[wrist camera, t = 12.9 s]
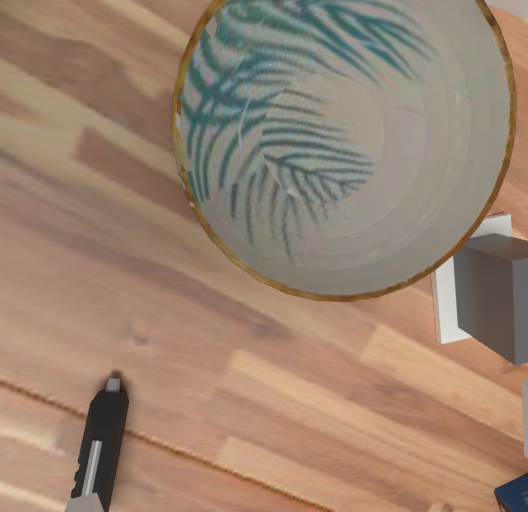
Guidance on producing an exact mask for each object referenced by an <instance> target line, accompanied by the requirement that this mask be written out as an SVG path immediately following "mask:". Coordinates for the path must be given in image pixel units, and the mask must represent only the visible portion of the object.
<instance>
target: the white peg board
mask: <svg viewBox="0 0 528 512" xmlns="http://www.w3.org/2000/svg"><path fill="white" fill-rule="evenodd" d="M492 233H497V234H501V235H505V236H509V237H511V214H506V213H502V214H497V215H492V216H487V217H485V218H484V220H483V222H482V223H481V225H480V226H479V227H478V229H477V230H476V231H475V232H474V233H473V235H472V236H471V237H470V238H473V237H478V236H483V235H488V234H492ZM431 281H432V293H433V305H434V318H435V330H436V340H437V341H438V342H439V343H441V344H445V343H450V342H454V341H458V340H463V339H467V338H471V337H472V336H470V335H469V334H467V333H466V332H464V331H463V330H461V329H460V328H458V321H457V306H456V292H455V277H454V262H453V256H452V257H451V258H449V259H448V260H447V261H446V262H445V263H444V264H442V265H441V266H440V267H439V268H438V269H436V270H435V271H434V272H432V273H431Z"/></svg>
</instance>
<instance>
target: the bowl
mask: <svg viewBox="0 0 528 512" xmlns="http://www.w3.org/2000/svg"><path fill="white" fill-rule="evenodd" d="M516 113H517V93H516V86H515V80H514V73H513V67H512V60H511V58H510V55H509V52H508V49H507V46H506V43H505V40H504V38H503V35H502V32H501V29H500V26H499V25H498V23H497V21H496V20H495V18H494V16H493V14H492V13H491V11H490V9H489V8H488V6H487V4H486V2H485V1H484V0H213V1H212V2H211V4H210V5H209V7H208V8H207V9H206V11H205V12H204V14H203V15H202V16H201V18H200V19H199V21H198V22H197V24H196V27H195V29H194V31H193V33H192V36H191V38H190V40H189V43H188V45H187V47H186V50H185V52H184V54H183V56H182V59H181V63H180V67H179V72H178V76H177V81H176V86H175V90H174V95H173V111H172V140H173V146H174V152H175V158H176V164H177V170H178V174H179V177H180V180H181V182H182V185H183V188H184V190H185V193H186V196H187V198H188V201H189V204H190V206H191V208H192V210H193V212H194V213H195V215H196V217H197V218H198V220H199V221H200V223H201V225H202V226H203V228H204V229H205V231H206V233H207V234H208V236H209V237H210V239H211V240H212V241H213V242H214V243H215V244H216V245H217V246H218V247H219V248H220V249H221V250H222V251H223V253H224V254H225V255H226V256H227V257H228V258H229V259H230V260H231V261H232V262H233V263H234V264H236V265H237V266H239V267H240V268H241V269H243V270H244V271H246V272H247V273H248V274H250V275H251V276H253V277H254V278H255V279H257V280H258V281H260V282H262V283H264V284H267V285H269V286H271V287H273V288H275V289H278V290H280V291H282V292H284V293H287V294H290V295H294V296H299V297H303V298H307V299H312V300H316V301H337V302H351V301H357V300H363V299H369V298H375V297H380V296H383V295H386V294H388V293H391V292H394V291H397V290H399V289H402V288H405V287H408V286H410V285H411V284H413V283H415V282H416V281H418V280H420V279H422V278H423V277H425V276H427V275H429V274H430V273H432V272H434V271H435V270H436V269H438V268H439V267H440V266H441V265H442V264H444V263H445V262H446V261H447V260H448V259H449V258H451V257H452V256H453V255H454V254H455V253H457V252H458V251H459V250H460V249H461V248H462V246H463V245H464V244H465V243H466V242H467V241H468V239H469V238H470V237H471V236H472V235H473V233H474V232H475V231H476V230H477V229H478V227H479V226H480V225H481V223H482V222H483V220H484V218H485V216H486V215H487V213H488V211H489V210H490V208H491V206H492V205H493V203H494V201H495V199H496V198H497V196H498V193H499V191H500V188H501V185H502V183H503V180H504V177H505V175H506V172H507V170H508V167H509V164H510V159H511V154H512V149H513V144H514V139H515V134H516Z"/></svg>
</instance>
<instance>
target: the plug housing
mask: <svg viewBox="0 0 528 512" xmlns="http://www.w3.org/2000/svg"><path fill="white" fill-rule="evenodd" d="M453 262H454V277H455V292H456V306H457V321H458V328H460V329H461V330H463V331H464V332H466V333H467V334H469V335H470V336H472V337H474V338H475V339H477V340H478V341H480V342H481V343H483V344H484V345H486V346H487V347H489V348H490V349H492V350H493V351H495V352H496V353H498V354H499V355H501V356H502V357H504V358H505V359H507V360H508V361H510V362H511V363H513V364H514V365H519V364H523V363H527V362H528V241H526V240H522V239H518V238H514V237H509V236H505V235H501V234H497V233H492V234H488V235H483V236H478V237H473V238H469V239H468V241H467V242H466V243H465V244H464V245H463V246H462V248H461V249H460V250H459V251H458V252H457V253H455V254H454V255H453Z"/></svg>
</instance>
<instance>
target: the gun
mask: <svg viewBox="0 0 528 512" xmlns="http://www.w3.org/2000/svg"><path fill="white" fill-rule="evenodd" d="M119 390H120V379H119V378H109V380H108V383H107V386H106V389H104V390H101V391H99V392H98V393H97V395H96V396H95V397H94V399H93V400H92V402H91V403H90V407H89V412H88V417H87V421H86V426H85V431H84V436H83V440H82V445H81V450H80V454H79V459H78V463H79V464H80V466H79V470H78V471H77V472H76V473H75V478H74V481H76V485H75V488H74V489H73V490H72V492H71V498H72V499H73V498H77V497H81V496H85V495H88V494H92V493H96V492H97V494H98V497H99V500H100V503H101V505H102V508H103V511H104V512H109V507H110V501H111V496H112V491H113V485H114V480H115V475H116V469H117V464H118V458H119V453H120V448H121V442H122V437H123V432H124V426H125V421H126V416H127V410H128V405H129V401H128V397H127V394H126V391H119Z"/></svg>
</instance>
